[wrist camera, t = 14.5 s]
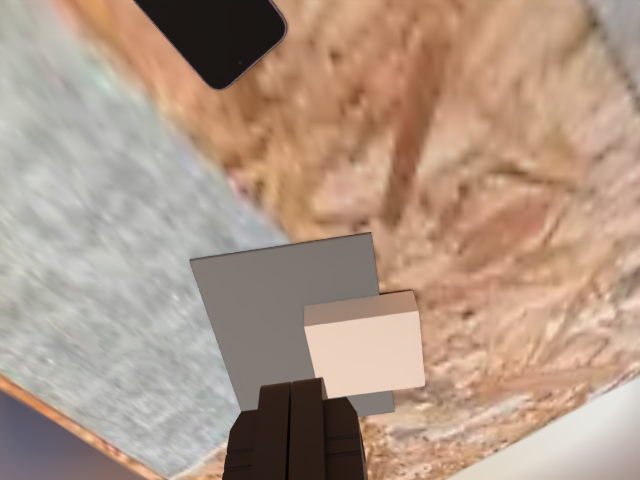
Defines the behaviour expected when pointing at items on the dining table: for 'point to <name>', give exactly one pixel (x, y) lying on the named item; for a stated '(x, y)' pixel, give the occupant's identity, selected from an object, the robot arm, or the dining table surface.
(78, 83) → the dining table surface
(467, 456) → the dining table surface
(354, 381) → the block
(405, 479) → the dining table surface
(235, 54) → the smartphone
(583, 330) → the dining table surface
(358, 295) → the mat
